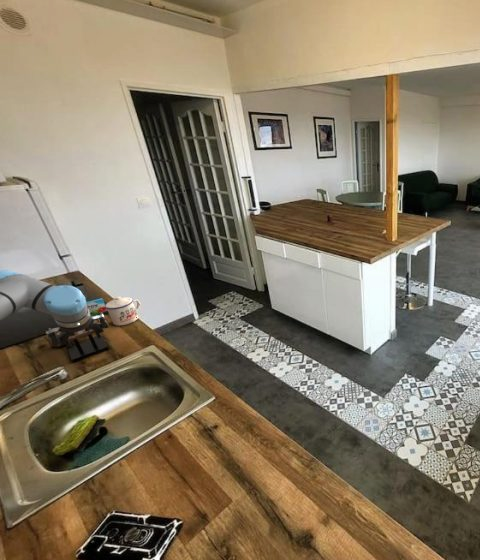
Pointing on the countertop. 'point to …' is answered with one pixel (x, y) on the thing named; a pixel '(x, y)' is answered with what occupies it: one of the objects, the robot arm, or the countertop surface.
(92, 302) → the blue printed flat box
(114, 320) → the teacup with lid
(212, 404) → the countertop surface
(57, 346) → the bread
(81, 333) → the slicer arm
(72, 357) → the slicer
